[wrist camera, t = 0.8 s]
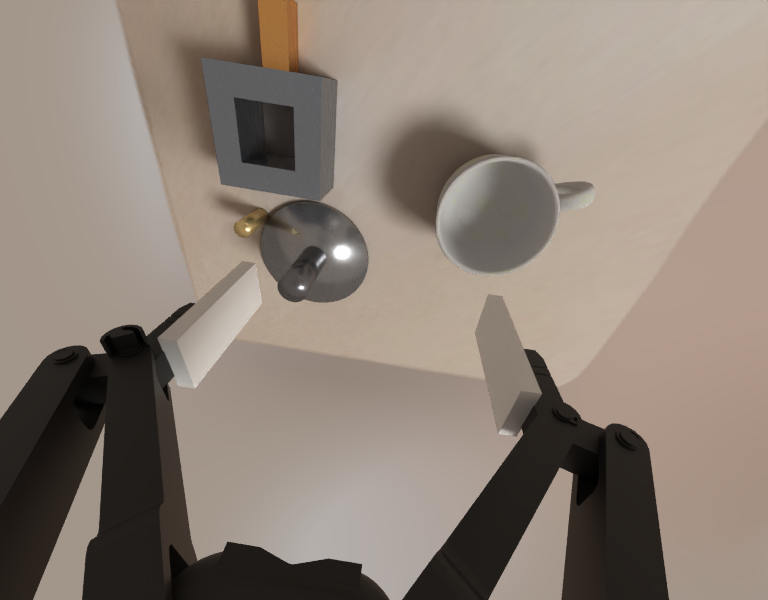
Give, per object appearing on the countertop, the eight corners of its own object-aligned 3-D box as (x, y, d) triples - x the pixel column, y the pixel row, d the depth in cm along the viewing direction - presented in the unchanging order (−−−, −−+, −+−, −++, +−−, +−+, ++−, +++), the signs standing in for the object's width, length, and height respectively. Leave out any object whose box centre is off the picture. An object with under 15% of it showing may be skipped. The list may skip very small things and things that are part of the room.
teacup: (434, 247, 37) (436, 279, 31) (431, 151, 31) (434, 164, 25) (554, 239, 35) (585, 272, 29) (576, 135, 29) (621, 145, 23)
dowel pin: (253, 207, 37) (232, 220, 33) (268, 209, 37) (248, 223, 33) (255, 221, 38) (234, 236, 34) (269, 223, 38) (250, 238, 34)
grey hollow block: (333, 187, 35) (319, 200, 30) (247, 173, 35) (221, 184, 30) (340, 10, 26) (322, -10, 22) (227, -9, 26) (186, -32, 22)
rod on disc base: (257, 192, 36) (217, 215, 29) (374, 211, 36) (362, 239, 28) (267, 291, 44) (237, 328, 36) (363, 307, 43) (351, 348, 36)
